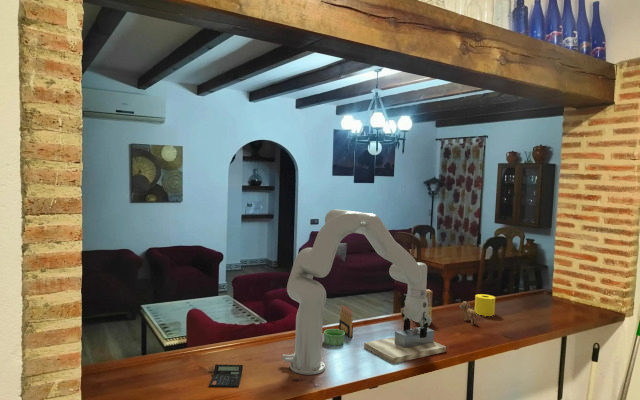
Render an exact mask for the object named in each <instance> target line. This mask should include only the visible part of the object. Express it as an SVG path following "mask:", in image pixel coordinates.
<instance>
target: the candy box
mask: <svg viewBox="0 0 640 400" xmlns="http://www.w3.org/2000/svg"><path fill="white" fill-rule="evenodd" d="M426 293H427V296H426V297H427V300H428V309H429V317H430V318H431V319H432V307H433V290H430V289H426ZM414 323H417V322H416V321H414Z"/></svg>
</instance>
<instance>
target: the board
mask: <svg viewBox="0 0 640 400" xmlns="http://www.w3.org/2000/svg"><path fill="white" fill-rule="evenodd" d="M411 329H412V332H414V333H417V332H418V328H417V327H412V328H411ZM363 348H364V349H366V350H367V349H368V350H367V351H369V350H370V351H369V352H371V351H372V352H371V353H373V354H375V355H377V356H378V355H379V356H378V357H381V358H382V359H384V360H386V361H387V362H390V363H391V364H397V363H400V362H406V361H411V360H414V359H419V358H424V357H428V356H432V355H437V354H441V353H446V352H447V346H445V345H442V344H441V343H438V342H436V341H434V342H433V343H428V344H423V345H418V346H414V347H409V348H403V347H401V346H399V345H397V344H395V336H394V337H388V338H382V339H378V340H372V341H366V342H363Z"/></svg>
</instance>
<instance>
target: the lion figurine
mask: <svg viewBox="0 0 640 400" xmlns="http://www.w3.org/2000/svg"><path fill="white" fill-rule="evenodd" d="M459 308H460V310H461V309H462V311H463V313H464V319H463V321H467V320H468V321H470V326H473V325H474V324H475V325H476V326H479V324H478V323H477V314H476V312H475V309H473V308H472V305H471V304H470V302H468V301H464V300H463V301H462V303H461V304H459Z"/></svg>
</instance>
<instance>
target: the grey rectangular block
mask: <svg viewBox="0 0 640 400" xmlns="http://www.w3.org/2000/svg"><path fill="white" fill-rule="evenodd" d="M416 328H418V332H417V333H414V332H412V328H410V329H406V330H403V329H401V330H396V331H394V337H395V344H397V345H399V346H401V347H403V348H409V347H414V346H418V345H423V344H428V343H433V342H435V341H434V340H435V339H434V338H435V337H434V336H435V330H434V329H432V328H430V327H428V328H427V337H425V338H420V328H421V326H419V327H416Z"/></svg>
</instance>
